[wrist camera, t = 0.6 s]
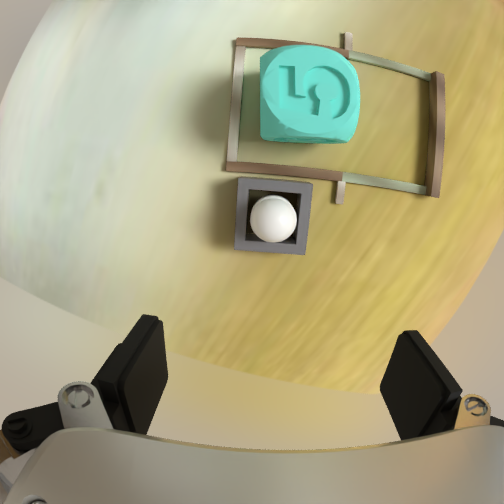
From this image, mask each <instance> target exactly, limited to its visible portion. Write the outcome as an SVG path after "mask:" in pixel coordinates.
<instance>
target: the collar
mask: <svg viewBox="0 0 504 504" xmlns="http://www.w3.org/2000/svg"><path fill="white" fill-rule="evenodd" d="M250 189H254V190H267V191H279V192H291V193H298V194H297V205H296V218H297V222H296V227H295V229H294V234H293V237H288V238H287V239H285V240H283V241H280V242H275V243H274V242H267V241H264V240H262V239H260V238H259V237H258V236H257V235H256V234H250V233H247V220H248V205H249V190H250ZM312 190H313V184H312V183H309V182H303V181H293V180H282V179H271V178H258V177H243V176H240V177H239V178H238V192H237V209H236V226H235V243H234V250H245V251H258V252H271V253H284V254H297V255H305V252H306V244H307V236H308V227H309V218H310V209H311V200H312Z"/></svg>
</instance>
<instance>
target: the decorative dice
mask: <svg viewBox="0 0 504 504" xmlns="http://www.w3.org/2000/svg"><path fill="white" fill-rule="evenodd" d="M359 109H360V88H359V81H358V76H357V73H356V70H355V68H354V67H353V66H352V64H351V63H350V62H349V61H348V60H347V59H346V58H345V57H343V56H342V55H341V54H340V53H338V52H336V51H334V50H331V49H328V48H324V47H320V46H313V45H289V46H283V47H278V48H275V49H272V50H270V51H268V52H266V53H265V54H264V55H263V56H262V57H260V137H261V138H262V139H264V140H268V141H277V142H293V143H325V144H335V143H347V142H348V141H349V140H350V139H351V138H352V136H353V134H354V132H355V129H356V126H357V122H358V117H359Z"/></svg>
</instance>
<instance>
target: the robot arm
mask: <svg viewBox="0 0 504 504" xmlns="http://www.w3.org/2000/svg"><path fill="white" fill-rule="evenodd" d="M167 380H168V370H167V361H166V351H165V341H164V330H163V322H162V321H161V320H159V319H158V317H157V316H152V315H145V314H143V315H142V316H141V317H140V319H139V320H138V321H137V323H136V324H135V326H134V327H133V328H132V330H131V331H130V333H129V334H128V335H127V337H126V338H125V340H124V341H123V343H120V344H118V345H117V346H116V347H115V349H114V351H113V352H112V353H111V355H110V356H109V357H108V359H107V360H106V361H105V363H104V364H103V366H102V367H101V369H100V370H99V372H98V373H97V375H96V376H95V377H94V379H93V380H92V382H91V383H87V382H81V381H78V382H72V383H69V384H67V385H66V386H64V387H63V388H62V389H61V390H60V391H59V394H58V402H55V403H51V404H47V405H43V406H40V407H35V408H31V409H27V410H23V411H18V412H15V413H12V414H10V415H9V416H7V417H6V418H5V420H4V421H3V424H2V429H1V430H0V504H504V421H503V420H501V419H498V418H495V417H493V416H491V407H490V405H489V403H488V402H487V401H486V400H485V399H484V398H482V397H481V396H479V395H475V394H468V395H466V396H464V397H463V398H461V396H460V394H461V393H462V389H461V388H460V386H459V385H458V383H457V382H456V380H455V379H454V378H453V376H452V375H451V373H450V372H449V371H448V370H447V368H446V367H445V365H444V364H443V363H442V361H441V360H440V359H439V358H438V356H437V355H436V354H435V352H434V351H433V350H432V349H431V347H430V346H429V345H428V343H427V342H426V341H425V340H424V338H423V337H422V336H421V334H420V333H419V332H418V331H417V330H409V331H403V333H402V334H400V335H399V336H398V339H397V342H396V344H395V347H394V350H393V353H392V356H391V358H390V361H389V364H388V366H387V369H386V371H385V374H384V376H383V379H382V381H381V384H380V392H381V394H382V396H383V399H384V401H385V403H386V405H387V408H388V410H389V412H390V415H391V417H392V419H393V422H394V424H395V427H396V429H397V431H398V434H399V436H400V438H401V441H395V442H389V443H383V444H376V445H367V446H358V447H349V448H336V449H318V450H261V449H243V448H231V447H220V446H211V445H204V444H196V443H189V442H182V441H176V440H170V439H164V438H159V437H154V436H148V435H146V434H147V431H148V429H149V426H150V424H151V421H152V419H153V416H154V414H155V411H156V408H157V406H158V403H159V401H160V398H161V396H162V393H163V390H164V388H165V386H166V383H167Z"/></svg>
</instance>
